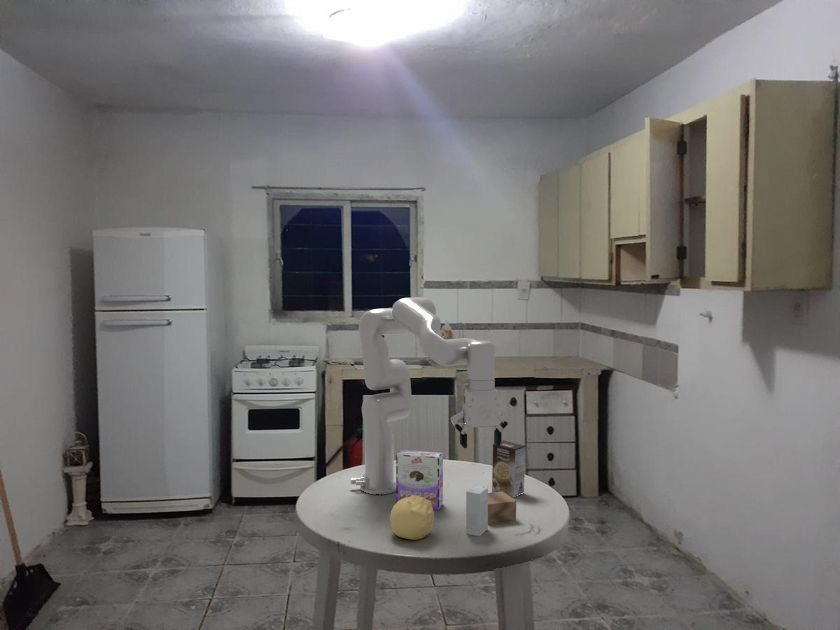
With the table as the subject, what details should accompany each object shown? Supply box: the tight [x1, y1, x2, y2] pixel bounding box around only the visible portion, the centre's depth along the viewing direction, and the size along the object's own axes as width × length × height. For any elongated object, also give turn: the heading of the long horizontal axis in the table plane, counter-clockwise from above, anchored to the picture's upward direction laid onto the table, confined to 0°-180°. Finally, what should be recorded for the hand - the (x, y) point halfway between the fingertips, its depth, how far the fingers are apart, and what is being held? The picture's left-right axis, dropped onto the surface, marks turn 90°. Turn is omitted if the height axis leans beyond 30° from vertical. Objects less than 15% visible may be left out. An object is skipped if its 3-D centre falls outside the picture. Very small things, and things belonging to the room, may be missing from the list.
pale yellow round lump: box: [389, 495, 435, 541], centre depth 177 cm, size 11×12×11 cm
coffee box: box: [491, 440, 526, 498], centre depth 212 cm, size 9×6×16 cm
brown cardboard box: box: [488, 491, 517, 525], centre depth 191 cm, size 9×9×6 cm
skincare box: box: [465, 485, 489, 537], centre depth 180 cm, size 6×4×12 cm
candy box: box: [395, 449, 444, 511], centre depth 200 cm, size 14×6×16 cm, turn 74°
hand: (480, 446), depth 182 cm, fingers open, 9 cm apart
